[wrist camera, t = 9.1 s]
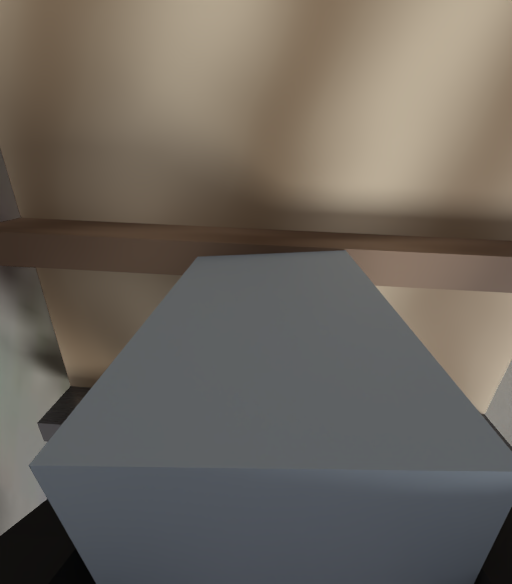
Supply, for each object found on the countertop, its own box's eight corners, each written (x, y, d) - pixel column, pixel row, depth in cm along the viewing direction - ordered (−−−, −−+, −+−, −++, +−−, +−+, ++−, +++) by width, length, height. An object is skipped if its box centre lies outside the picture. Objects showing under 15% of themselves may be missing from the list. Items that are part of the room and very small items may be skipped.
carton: (197, 256, 8) (26, 465, 2) (347, 250, 8) (537, 472, 2) (227, 455, 11) (182, 734, 6) (333, 456, 11) (393, 751, 5)
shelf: (821, -389, 5) (1411, -982, 3) (462, 413, 14) (510, 476, 11) (-110, -363, 6) (-436, -809, 3) (88, 387, 14) (44, 441, 11)
